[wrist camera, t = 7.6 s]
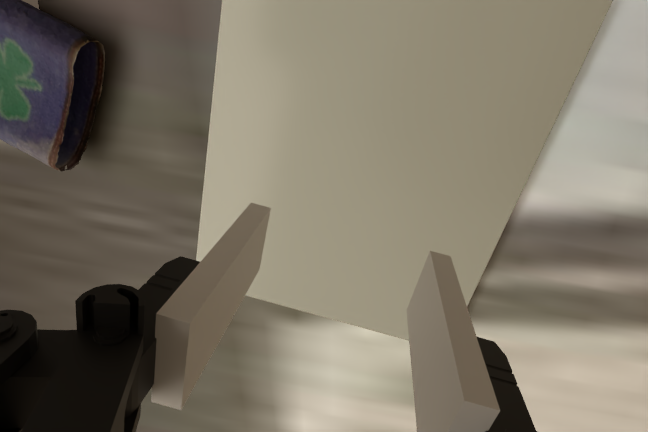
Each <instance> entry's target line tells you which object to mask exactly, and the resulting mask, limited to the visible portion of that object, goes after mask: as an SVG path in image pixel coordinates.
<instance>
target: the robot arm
mask: <svg viewBox="0 0 648 432" xmlns="http://www.w3.org/2000/svg"><path fill="white" fill-rule="evenodd" d="M270 210H271V208H270V207H266V206H262V205H258V204H255V203H250V204H249V206H248V207H247V208H246V209H245V210H244V211H243V213H242V214H241V215H240V216H239V217H238V218H237V220H236V221H235V222H234V223H233V224H232V225H231V227H230V228H229V229H228V230H227V231H226V232H225V234H224V235H223V236H222V237H221V238H220V240H219V241H218V242H217V243H216V244H215V245H214V247H213V248H212V249H211V250H210V251H209V252H208V254H207V255H206V256H205V257H204V258H203V259H202V261H201V262H199V261H195V260H192V259H188V258H184V257H178V258H176V259H174V260H172V261H169V262H167V263H165V264H164V265H163V266H162V267H161V268H160V269H159V270H158V271H157V272H156V273H155V275H153V276H152V277H151V278H150V279H149V280H148V281H147V283H146V284H144V285H143V286H142V287H141V288H140V289H139V290H137V289H135V288H133V287H131V286H126V285H121V284H113V285H104V286H100V287H95V288H93V289H91V290H89V291H87V292H85V293H83V294H82V295H81V296H80V297H79V298H78V299H77V300H76V320H77V330H37V322H36V320H35V319H34V318H33V316H32V315H30V314H28V313H26V312H23V311H17V310H2V311H0V432H136V429H137V425H138V422H139V418H140V411H141V402H142V400H143V399H144V397H145V396H146V395H147V393H148V392H149V390H150V389H151V387H152V396H151V402H154V403H158V404H161V405H165V406H168V407H171V408H175V409H178V410H181V409H182V408H183V406H184V404H185V402H186V400H187V399H188V397H189V395H190V393H191V391H192V390H193V388H194V386H195V384H196V382H197V381H198V379H199V377H200V375H201V374H202V372H203V370H204V368H205V366H206V365H207V363H208V361H209V359H210V357H211V356H212V354H213V352H214V350H215V348H216V347H217V345H218V343H219V341H220V339H221V338H222V336H223V334H224V332H225V331H226V329H227V327H228V325H229V323H230V322H231V320H232V318H233V316H234V314H235V313H236V311H237V309H238V307H239V305H240V304H241V302H242V300H243V298H244V296H245V295H246V293H247V291H248V289H249V287H250V286H251V284H252V282H253V280H254V279H255V277H256V275H257V273H258V271H259V269H260V264H261V259H262V253H263V248H264V243H265V237H266V232H267V226H268V221H269V216H270ZM407 321H408V332H409V344H410V355H411V366H412V378H413V389H414V400H415V412H416V423H417V432H537V431H536V430H535V427H534V425H533V422H532V420H531V417H530V415H529V412H528V410H527V407H526V405H525V402H524V400H523V397H522V395H521V392H520V390H519V387H518V386H517V382H516V379H515V377H514V374H512V369H511V367H510V364H509V362H508V359H507V357H506V355H505V354H504V353H503V352H502V351H501V349H500V348H499V347H498V346H497V344H496V343H495V342H493V341H490V340H486V339H482V338H479V337H476V334H475V331H474V327H473V324H472V321H471V318H470V315H469V312H468V309H467V306H466V303H465V300H464V296H463V293H462V290H461V287H460V284H459V281H458V278H457V275H456V272H455V268H454V265H453V262H452V259H451V256H448V255H444V254H440V253H437V252H433V251H430V252H429V254H428V257H427V260H426V262H425V265H424V267H423V270H422V272H421V275H420V277H419V280H418V282H417V285H416V287H415V290H414V292H413V295H412V297H411V300H410V303H409V305H408V308H407Z"/></svg>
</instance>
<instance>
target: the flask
mask: <svg viewBox="0 0 648 432" xmlns="http://www.w3.org/2000/svg"><path fill="white" fill-rule="evenodd" d="M104 66H105V51H104V49H103V44H101V43H100V42H99V41H96V40H95V39H94V38H92V37H91V36H88V35H87V34H85V33H83V32H81V31H80V30H78V29H77V28H75V27H72V26H71V25H70V24H68V23H65V22H63V21H62V20H60V19H57V18H55V17H53V16H52V15H50V14H48V13H45V12H43V11H41V10H39V9H37V8H35V7H33V6H32V5H30V4H28V3H26V2H23V1H21V0H0V139H1V140H3V141H4V142H6V143H8V144H10V145H12V146H14V147H16V148H18V149H20V150H22V151H23V152H25V153H27V154H29V155H31V156H32V157H34V158H36V159H38V160H40V161H41V162H43V163H44V164H46V165H48V166H50V167H52V168H54V169H56V170H60V171H65V170H64V169H65V166H66V165H67V169H66V170H71V169H72V168H74V167H75V166H76V165H77V164H79V160H81V158H82V157H81V156H82V154H83V152H84V151H85V149H86V147H87V144H88V143H87V140H88V139H89V136H90V132H91V129H92V125H93V121H94V118H95V114H96V113H95V112H96V111H95V110H96V107H97V105H98V103H99V98H100V96H101V90H102V82H103V77H104V76H103V75H104Z"/></svg>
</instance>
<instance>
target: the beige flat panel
mask: <svg viewBox="0 0 648 432" xmlns="http://www.w3.org/2000/svg"><path fill="white" fill-rule="evenodd" d="M612 1H613V0H222V8H221V18H220V28H219V38H218V48H217V58H216V68H215V78H214V87H213V97H212V107H211V117H210V127H209V137H208V147H207V157H206V167H205V177H204V187H203V197H202V206H201V216H200V226H199V236H198V246H197V256H196V261H199V262H201V261H202V259H203V258H204V257H205V256H206V255H207V254H208V252H209V251H210V250H211V249H212V248H213V247H214V245H215V244H216V243H217V242H218V241H219V240H220V238H221V237H222V236H223V235H224V234H225V232H226V231H227V230H228V229H229V228H230V227H231V225H232V224H233V223H234V222H235V221H236V220H237V218H238V217H239V216H240V215H241V214H242V213H243V211H244V210H245V209H246V208H247V207H248V206H249V204H250V203H255V204H258V205H262V206H266V207H270V208H271V210H270V216H269V221H268V226H267V232H266V237H265V243H264V248H263V253H262V259H261V264H260V269H259V271H258V273H257V275H256V277H255V279H254V280H253V282H252V284H251V286H250V287H249V289H248V291H247V293H246V296H250V297H253V298H257V299H261V300H264V301H268V302H271V303H275V304H279V305H282V306H286V307H290V308H293V309H297V310H300V311H304V312H308V313H311V314H315V315H319V316H322V317H326V318H329V319H333V320H337V321H340V322H344V323H347V324H351V325H355V326H358V327H362V328H366V329H369V330H373V331H376V332H380V333H384V334H387V335H391V336H395V337H398V338H402V339H405V340H409V332H408V321H407V308H408V305H409V303H410V300H411V297H412V295H413V292H414V290H415V287H416V285H417V282H418V280H419V277H420V275H421V272H422V270H423V267H424V265H425V262H426V260H427V257H428V254H429V252H430V251H433V252H437V253H440V254H444V255H448V256H451V259H452V262H453V265H454V268H455V272H456V275H457V278H458V281H459V284H460V287H461V290H462V293H463V296H464V300H465V303H466V306H468V304H469V302H470V299H471V297H472V295H473V293H474V291H475V289H476V287H477V285H478V283H479V281H480V278H481V276H482V274H483V272H484V270H485V268H486V266H487V264H488V262H489V260H490V257H491V255H492V253H493V251H494V249H495V247H496V245H497V243H498V241H499V239H500V236H501V234H502V232H503V230H504V228H505V226H506V224H507V222H508V220H509V218H510V215H511V213H512V211H513V209H514V207H515V205H516V203H517V201H518V199H519V197H520V194H521V192H522V190H523V188H524V186H525V184H526V182H527V180H528V178H529V176H530V173H531V171H532V169H533V167H534V165H535V163H536V161H537V159H538V157H539V155H540V152H541V150H542V148H543V146H544V144H545V142H546V140H547V138H548V136H549V134H550V131H551V129H552V127H553V125H554V123H555V121H556V119H557V117H558V115H559V113H560V110H561V108H562V106H563V104H564V102H565V100H566V98H567V96H568V94H569V92H570V89H571V87H572V85H573V83H574V81H575V79H576V77H577V75H578V73H579V71H580V68H581V66H582V64H583V62H584V60H585V58H586V56H587V54H588V52H589V50H590V47H591V45H592V43H593V41H594V39H595V37H596V35H597V33H598V31H599V29H600V26H601V24H602V22H603V20H604V18H605V16H606V14H607V12H608V10H609V8H610V5H611V3H612Z"/></svg>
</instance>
